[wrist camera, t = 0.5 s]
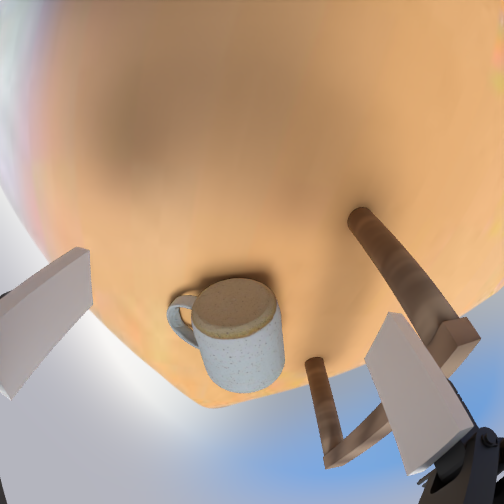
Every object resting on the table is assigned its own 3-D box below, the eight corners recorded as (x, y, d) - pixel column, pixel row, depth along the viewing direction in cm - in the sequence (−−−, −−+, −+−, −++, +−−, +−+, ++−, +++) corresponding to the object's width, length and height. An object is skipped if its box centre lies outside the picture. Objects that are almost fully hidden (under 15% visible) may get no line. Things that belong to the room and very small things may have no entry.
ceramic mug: (273, 265, 24) (285, 334, 17) (280, 327, 28) (289, 390, 22) (157, 280, 24) (136, 346, 17) (183, 337, 28) (174, 397, 22)
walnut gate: (351, 206, 21) (455, 347, 9) (375, 208, 21) (483, 337, 9) (303, 368, 33) (323, 469, 21) (320, 366, 33) (344, 465, 21)
